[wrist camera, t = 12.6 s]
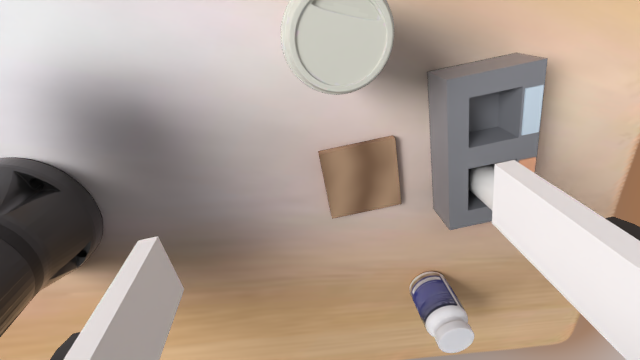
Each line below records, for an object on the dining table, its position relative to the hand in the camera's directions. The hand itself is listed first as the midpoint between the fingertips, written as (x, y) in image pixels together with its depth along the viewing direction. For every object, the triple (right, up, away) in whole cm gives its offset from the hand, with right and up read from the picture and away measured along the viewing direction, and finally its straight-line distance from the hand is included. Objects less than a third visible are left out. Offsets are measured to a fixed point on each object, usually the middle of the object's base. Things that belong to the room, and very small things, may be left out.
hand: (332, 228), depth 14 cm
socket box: (+18, +7, +28) cm, 34 cm away
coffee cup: (0, +17, +22) cm, 28 cm away
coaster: (+5, +2, +29) cm, 30 cm away
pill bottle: (+16, -14, +39) cm, 44 cm away
